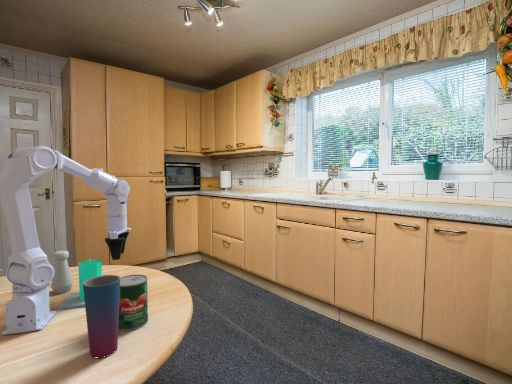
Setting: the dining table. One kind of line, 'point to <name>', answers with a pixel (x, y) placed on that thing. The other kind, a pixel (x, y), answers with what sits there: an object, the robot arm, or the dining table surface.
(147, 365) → the dining table surface
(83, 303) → the mat
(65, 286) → the salt shaker
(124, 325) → the canned tomato
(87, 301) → the cup
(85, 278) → the candle
